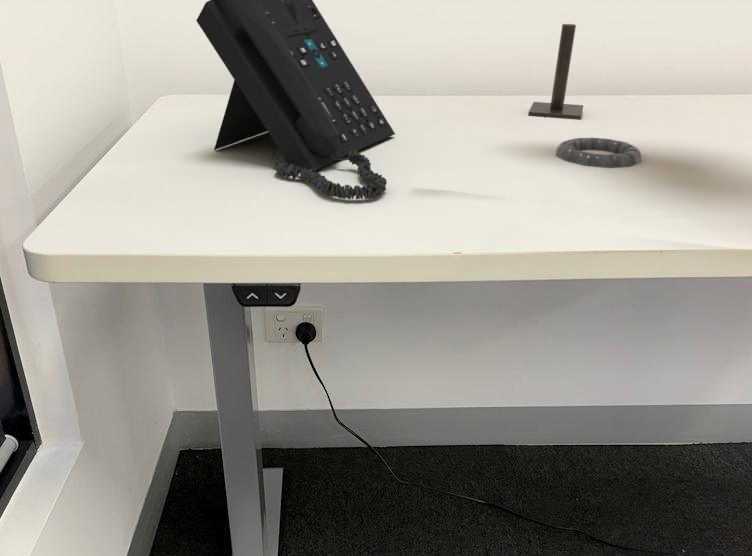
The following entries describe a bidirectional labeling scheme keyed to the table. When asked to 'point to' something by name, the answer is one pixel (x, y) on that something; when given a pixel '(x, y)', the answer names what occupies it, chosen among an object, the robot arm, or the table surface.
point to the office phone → (294, 90)
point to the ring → (622, 157)
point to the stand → (560, 83)
